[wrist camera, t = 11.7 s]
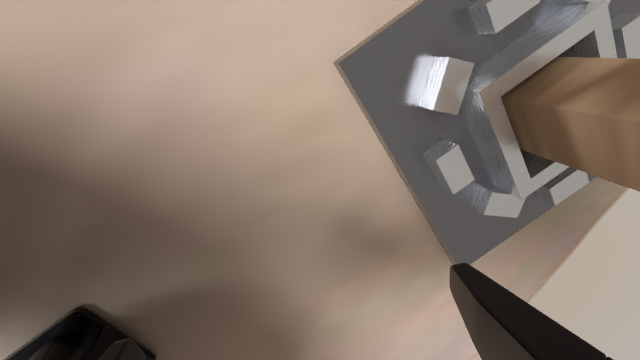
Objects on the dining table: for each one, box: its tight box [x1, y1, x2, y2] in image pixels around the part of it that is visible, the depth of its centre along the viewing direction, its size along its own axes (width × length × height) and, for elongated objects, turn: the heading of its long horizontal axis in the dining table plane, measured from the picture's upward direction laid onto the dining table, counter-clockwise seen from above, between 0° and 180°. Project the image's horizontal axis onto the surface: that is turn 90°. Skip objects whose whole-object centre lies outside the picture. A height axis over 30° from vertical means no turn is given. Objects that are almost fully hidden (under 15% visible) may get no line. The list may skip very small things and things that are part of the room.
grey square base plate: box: [334, 0, 640, 265], centre depth 20 cm, size 18×18×4 cm
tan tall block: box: [501, 57, 640, 191], centre depth 16 cm, size 4×4×12 cm
